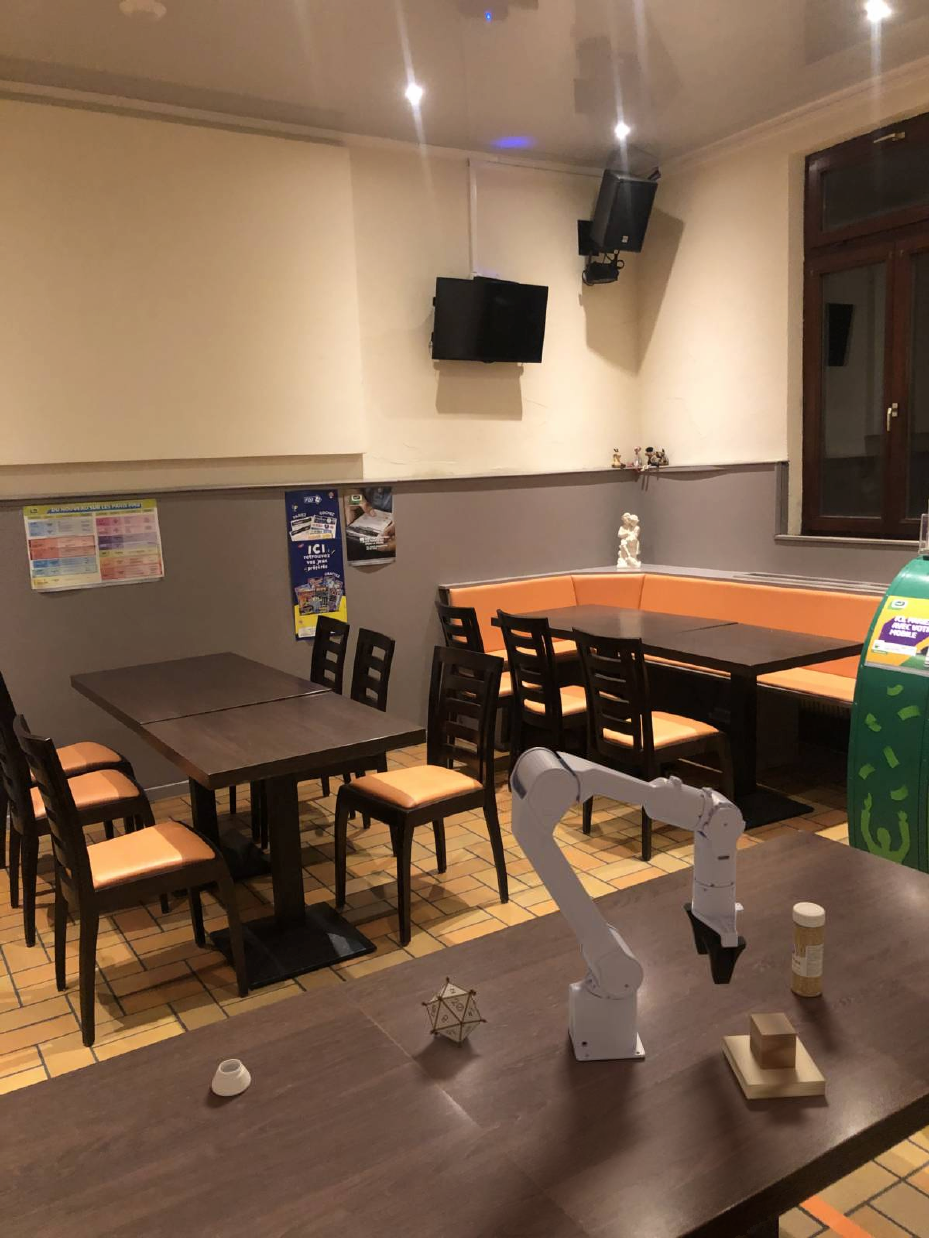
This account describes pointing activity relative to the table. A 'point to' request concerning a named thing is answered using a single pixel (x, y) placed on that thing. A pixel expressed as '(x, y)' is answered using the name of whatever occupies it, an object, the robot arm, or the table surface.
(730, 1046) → the birch base
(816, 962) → the sprinkles bottle
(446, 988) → the game die
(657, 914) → the table surface
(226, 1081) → the lidless jar
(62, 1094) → the table surface
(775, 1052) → the walnut block
